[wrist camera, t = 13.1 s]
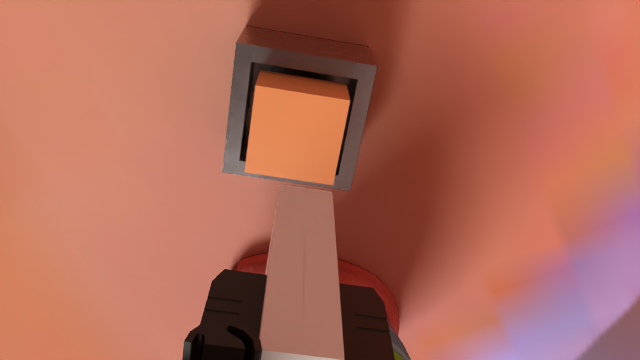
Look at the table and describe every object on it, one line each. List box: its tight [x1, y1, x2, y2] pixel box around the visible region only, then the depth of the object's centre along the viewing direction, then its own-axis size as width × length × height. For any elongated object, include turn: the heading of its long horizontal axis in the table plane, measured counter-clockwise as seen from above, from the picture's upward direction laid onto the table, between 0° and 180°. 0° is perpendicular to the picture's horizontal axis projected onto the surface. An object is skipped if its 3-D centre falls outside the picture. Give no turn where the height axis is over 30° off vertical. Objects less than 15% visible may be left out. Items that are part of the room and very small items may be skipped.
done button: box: [245, 70, 350, 185], centre depth 24 cm, size 4×4×2 cm
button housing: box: [222, 26, 377, 191], centre depth 26 cm, size 6×6×4 cm
